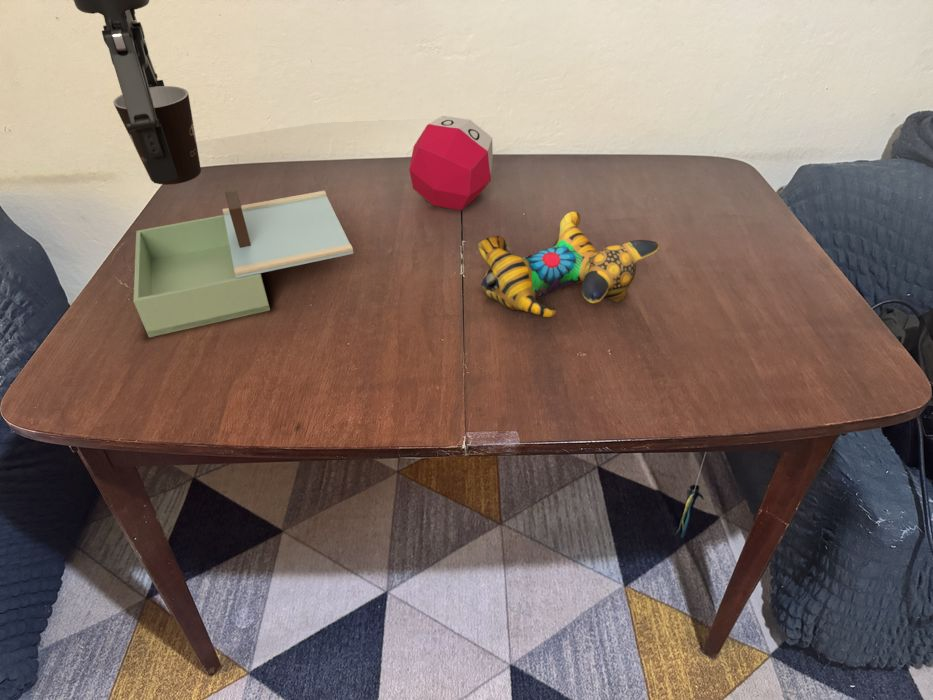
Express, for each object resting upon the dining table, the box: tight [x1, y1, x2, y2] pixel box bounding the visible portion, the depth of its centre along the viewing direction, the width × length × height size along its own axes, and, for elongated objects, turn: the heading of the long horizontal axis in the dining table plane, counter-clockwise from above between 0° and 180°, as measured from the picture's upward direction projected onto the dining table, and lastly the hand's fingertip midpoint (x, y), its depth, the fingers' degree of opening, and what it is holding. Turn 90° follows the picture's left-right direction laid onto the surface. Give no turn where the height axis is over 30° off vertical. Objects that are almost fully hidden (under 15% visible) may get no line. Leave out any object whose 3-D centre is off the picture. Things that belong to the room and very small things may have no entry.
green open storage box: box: [133, 214, 271, 338], centre depth 94 cm, size 16×20×6 cm
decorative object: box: [408, 115, 494, 211], centre depth 112 cm, size 15×15×15 cm
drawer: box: [222, 190, 354, 278], centre depth 94 cm, size 16×20×7 cm
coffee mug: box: [113, 85, 202, 186], centre depth 81 cm, size 12×9×10 cm
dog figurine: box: [477, 211, 660, 318], centre depth 89 cm, size 20×12×18 cm
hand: (165, 160), depth 82 cm, fingers closed on coffee mug, 12 cm apart
